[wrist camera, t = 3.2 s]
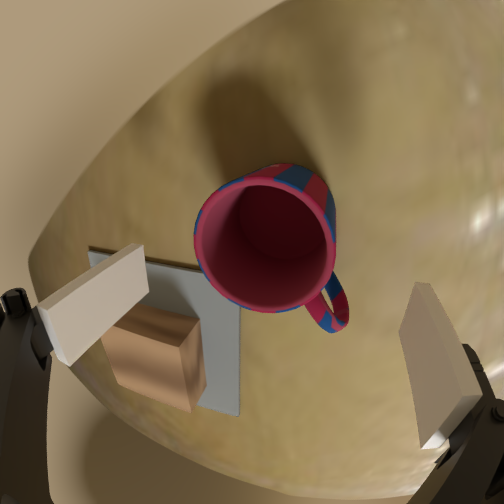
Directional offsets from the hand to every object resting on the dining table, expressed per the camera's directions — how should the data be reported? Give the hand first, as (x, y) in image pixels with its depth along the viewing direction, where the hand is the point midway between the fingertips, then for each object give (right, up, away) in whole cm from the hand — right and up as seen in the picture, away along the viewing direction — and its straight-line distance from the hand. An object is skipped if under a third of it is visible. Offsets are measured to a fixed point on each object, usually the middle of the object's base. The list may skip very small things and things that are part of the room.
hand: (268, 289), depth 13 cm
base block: (-10, -8, +14) cm, 19 cm away
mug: (+2, +3, +7) cm, 8 cm away
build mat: (-10, -7, +14) cm, 19 cm away
